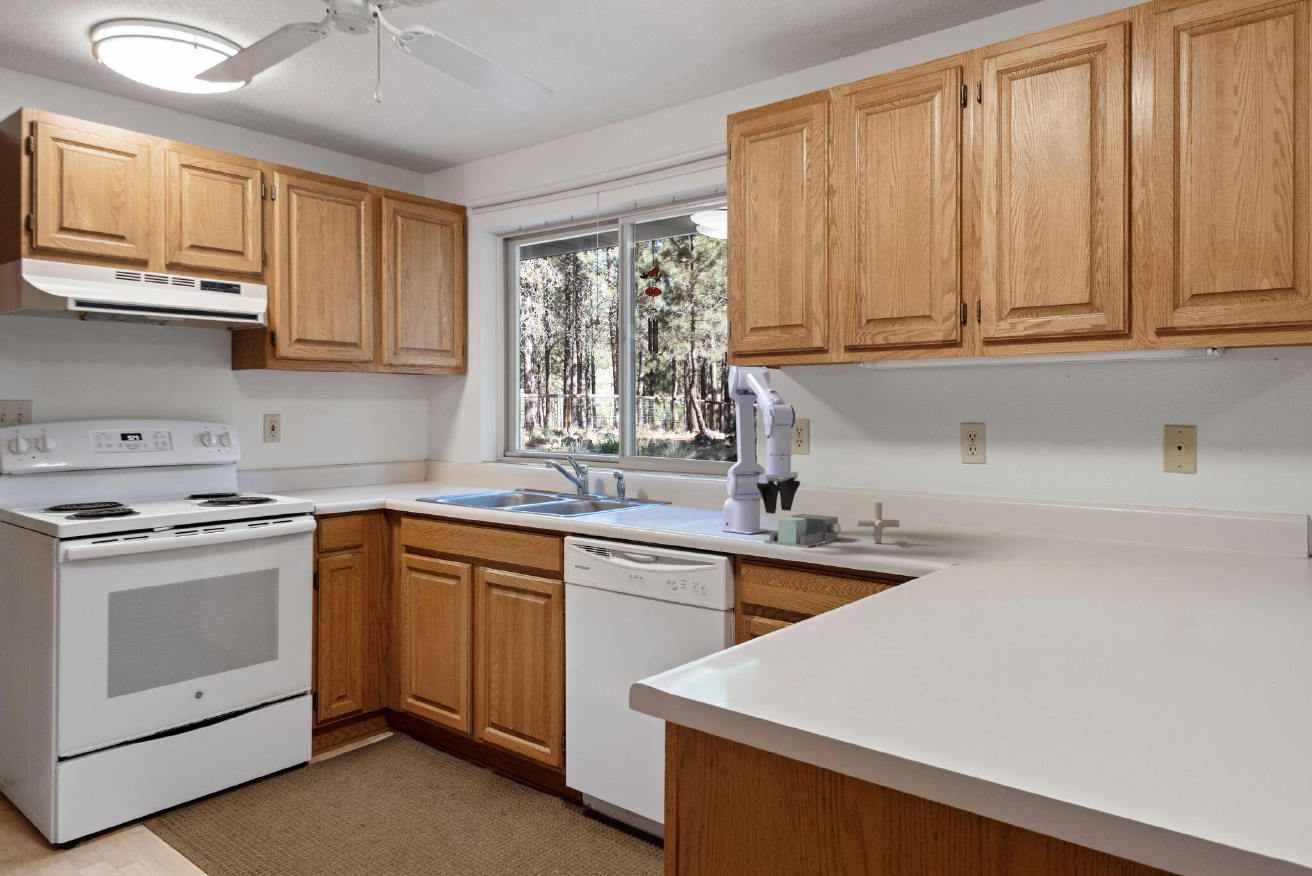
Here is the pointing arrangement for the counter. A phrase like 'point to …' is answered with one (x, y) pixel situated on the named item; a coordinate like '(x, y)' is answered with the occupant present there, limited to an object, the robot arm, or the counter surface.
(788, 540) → the pale mint cube
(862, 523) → the pipe connector
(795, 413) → the robot arm
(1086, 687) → the counter surface
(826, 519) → the motor mount
